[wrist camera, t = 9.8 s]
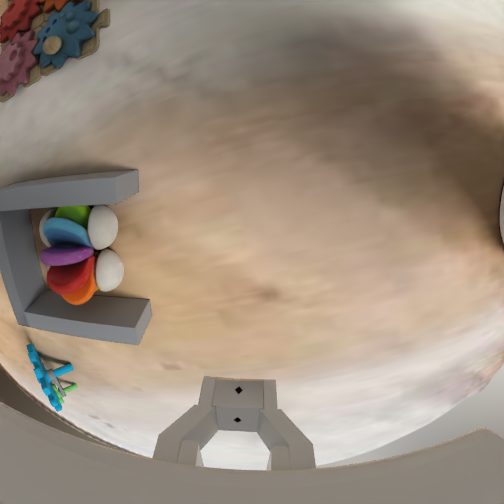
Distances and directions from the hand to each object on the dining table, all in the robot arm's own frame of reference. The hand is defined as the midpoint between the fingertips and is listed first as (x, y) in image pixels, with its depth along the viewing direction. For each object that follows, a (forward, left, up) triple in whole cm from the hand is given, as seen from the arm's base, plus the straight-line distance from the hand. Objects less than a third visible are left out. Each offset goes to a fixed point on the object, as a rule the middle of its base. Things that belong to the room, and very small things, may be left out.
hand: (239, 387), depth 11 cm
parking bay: (+17, 0, -16) cm, 23 cm away
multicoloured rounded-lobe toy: (+15, 0, -17) cm, 23 cm away
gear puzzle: (+23, -33, -17) cm, 44 cm away
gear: (+27, +18, -17) cm, 36 cm away
